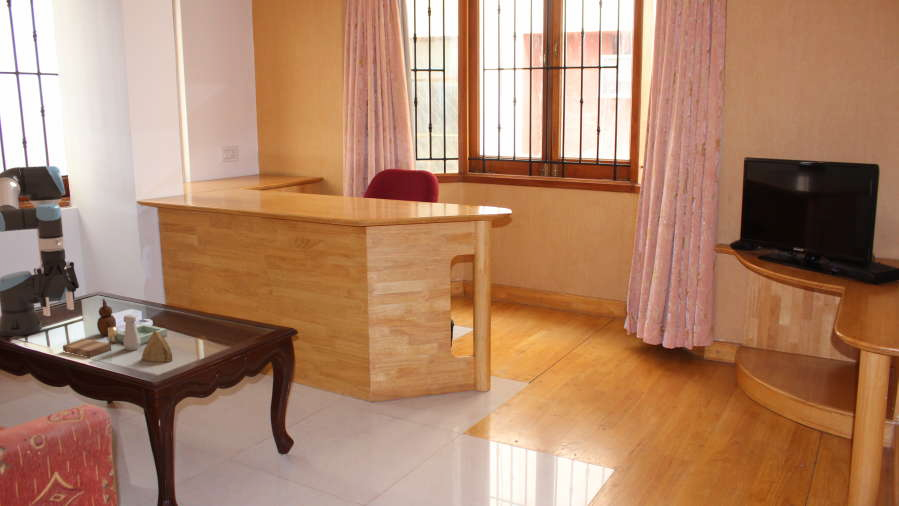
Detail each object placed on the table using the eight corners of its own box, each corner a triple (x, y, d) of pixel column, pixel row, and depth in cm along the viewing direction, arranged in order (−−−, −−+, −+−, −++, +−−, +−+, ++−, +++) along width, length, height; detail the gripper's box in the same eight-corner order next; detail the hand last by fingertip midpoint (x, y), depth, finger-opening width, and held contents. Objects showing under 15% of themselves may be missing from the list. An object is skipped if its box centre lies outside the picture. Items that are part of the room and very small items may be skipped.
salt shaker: (136, 345, 286) (133, 312, 283) (144, 348, 282) (141, 314, 280) (121, 349, 282) (118, 315, 279) (129, 352, 278) (126, 318, 275)
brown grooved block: (63, 353, 278) (62, 345, 277) (84, 346, 286) (83, 338, 285) (91, 359, 272) (90, 351, 272) (111, 351, 280) (110, 343, 280)
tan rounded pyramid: (181, 353, 270) (170, 343, 277) (166, 339, 265) (155, 328, 272) (157, 375, 267) (146, 364, 274) (141, 361, 261) (131, 350, 268)
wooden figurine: (108, 337, 295) (105, 300, 292) (95, 336, 296) (92, 299, 293) (119, 332, 301) (116, 295, 298) (106, 331, 303) (103, 294, 300)
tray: (116, 340, 291) (115, 333, 291) (144, 331, 302) (143, 324, 302) (139, 345, 285) (138, 338, 285) (167, 336, 296) (166, 329, 296)
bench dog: (107, 343, 288) (105, 328, 287) (114, 341, 290) (112, 326, 289) (112, 344, 286) (111, 329, 285) (119, 342, 289) (117, 327, 288)
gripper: (30, 255, 252) (37, 321, 257) (86, 245, 270) (92, 306, 275) (16, 253, 255) (23, 318, 260) (73, 243, 274) (79, 303, 278)
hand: (59, 312), depth 267 cm, fingers open, 8 cm apart
